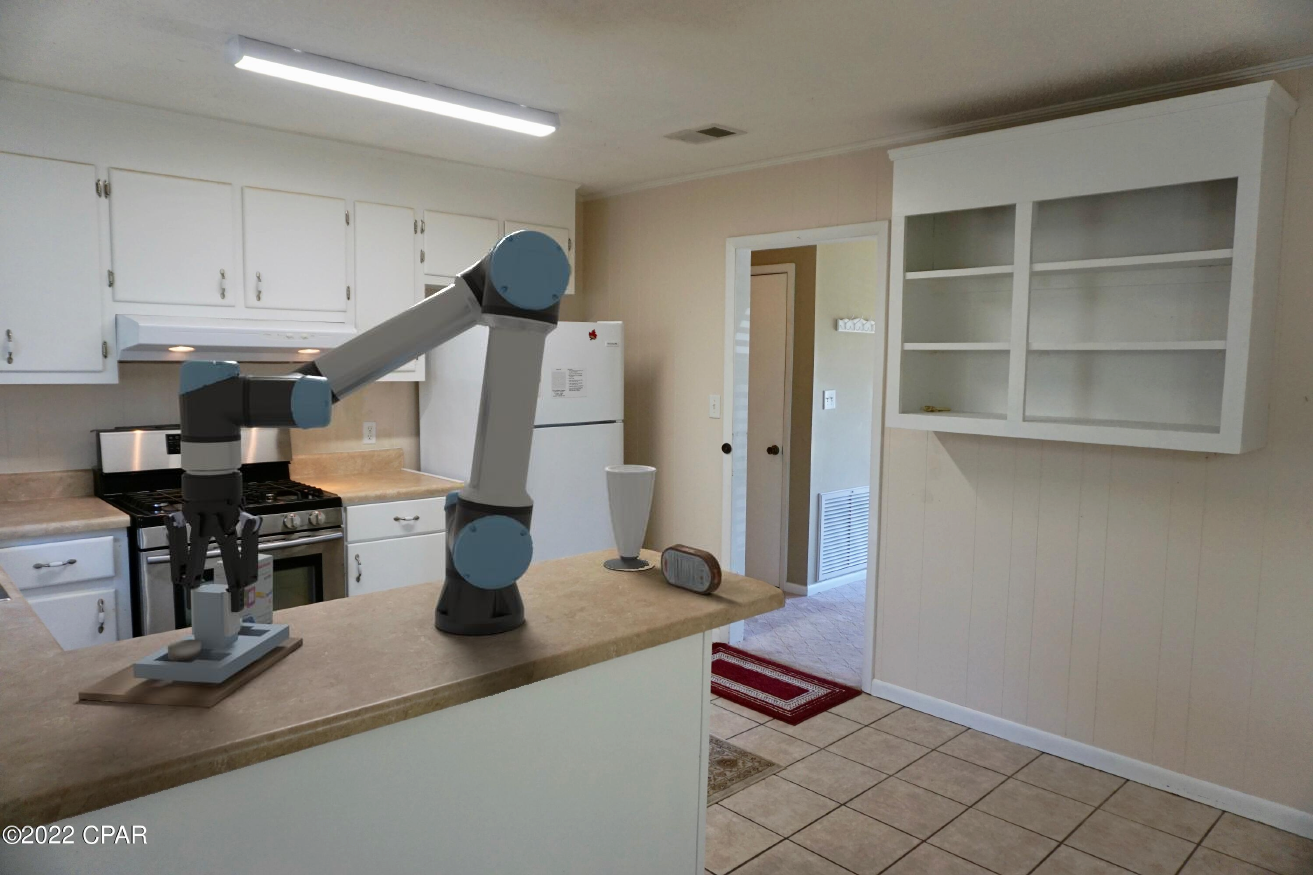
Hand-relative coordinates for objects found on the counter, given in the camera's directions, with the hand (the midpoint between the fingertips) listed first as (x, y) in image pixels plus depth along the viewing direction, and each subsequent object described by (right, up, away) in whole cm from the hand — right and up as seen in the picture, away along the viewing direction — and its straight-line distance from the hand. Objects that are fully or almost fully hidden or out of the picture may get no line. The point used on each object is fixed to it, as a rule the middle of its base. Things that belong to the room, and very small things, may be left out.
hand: (216, 632), depth 121 cm
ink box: (-5, -4, +19) cm, 20 cm away
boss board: (-3, -5, +1) cm, 6 cm away
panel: (0, -4, 0) cm, 4 cm away
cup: (+57, -1, +66) cm, 87 cm away
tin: (+69, -3, +48) cm, 85 cm away
